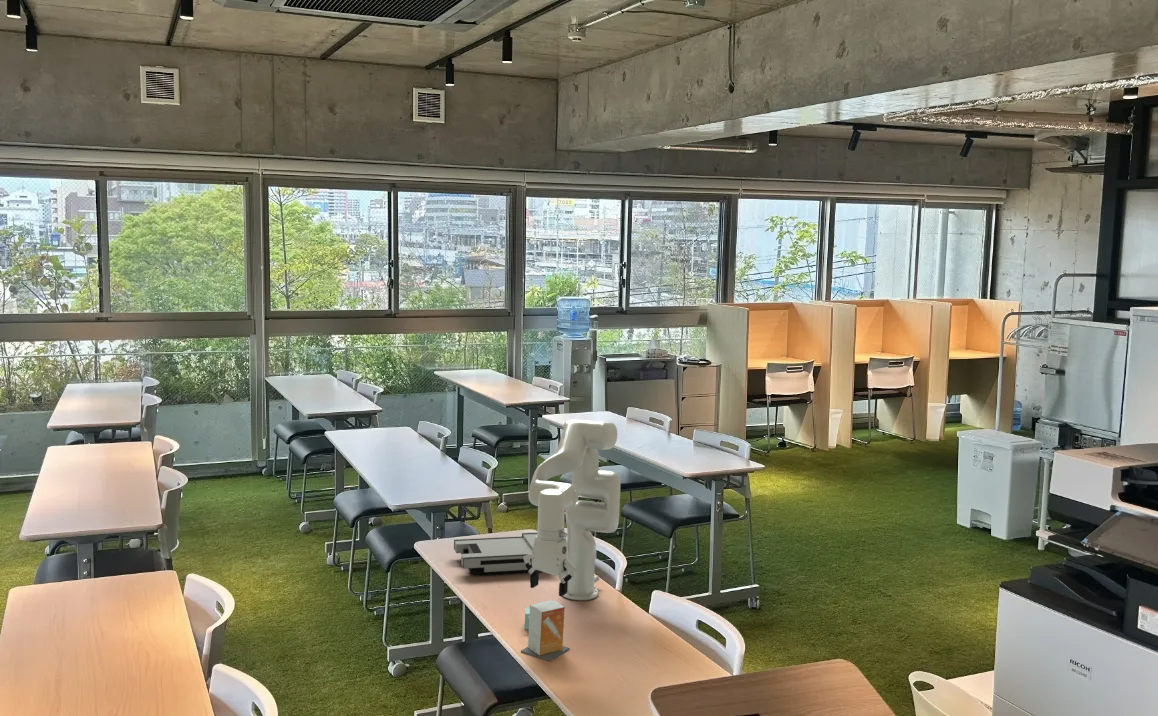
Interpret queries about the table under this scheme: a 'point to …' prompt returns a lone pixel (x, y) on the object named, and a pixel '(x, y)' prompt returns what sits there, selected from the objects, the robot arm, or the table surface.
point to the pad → (545, 656)
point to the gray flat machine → (496, 554)
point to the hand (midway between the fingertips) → (548, 590)
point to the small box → (546, 627)
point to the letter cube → (527, 617)
